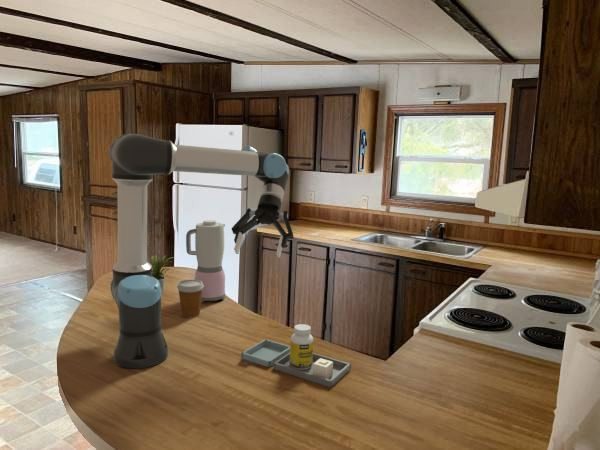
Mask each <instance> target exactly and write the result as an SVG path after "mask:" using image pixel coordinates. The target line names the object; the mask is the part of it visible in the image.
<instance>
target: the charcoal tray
mask: <svg viewBox="0 0 600 450" xmlns="http://www.w3.org/2000/svg"><path fill="white" fill-rule="evenodd" d="M320 358H322V359H325V360H329V361H332V362H333V375H332V376H331V377H330V378H329V379H326V378H323V377H320V376H316V375H313V363H315V362H316V361H317V360H319V359H320ZM351 369H352V368H351V363H350V362H345V361H342V360H339V359H336V358H332V357H329V356H325V355H322V354H318V353H315V352H313V357H312V366H311V367H310V368H308V369H305V370H298V369H295V368H293V367H291V365H290V352H289V353H288V354H286V355H285V356H283V357H282V358H280V359H279V360H278V361H276V362H275V363H274V365H273V370H275V371H279V372H282V373H285V374H288V375H291V376H295V377H298V378H300V379H304V380H306V381H310V382H312V383H315V384H319V385H322V386H324V387H328V388H332V387H333V386H334V385H335V384H336V383H338V381H340V379H342V378H343V377H344V376H345V375H346V374H347V373H349V372H350V371H351Z"/></svg>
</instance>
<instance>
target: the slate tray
mask: <svg viewBox="0 0 600 450" xmlns="http://www.w3.org/2000/svg"><path fill="white" fill-rule="evenodd" d="M289 352H290V345H288V344H284V343H281V342H277V341H273V340H270V339H268V338H265V339H263V340H261V341H260V342H258V343H256V344H254V345H252V346H251V347H248V348H247V349H245V350H244V351H242V352H241V355H240V356H241V359H240V360H241V362H244V363H247V364H251V365H254V364H257V365H260V366H264V367H265V368H266V367H267V368H271V367H272V366H274V363H275V362H276V361H278V360H279V359H280V358H282V357H283V356H285V355H286V354H288V353H289Z"/></svg>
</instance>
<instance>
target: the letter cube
mask: <svg viewBox="0 0 600 450" xmlns="http://www.w3.org/2000/svg"><path fill="white" fill-rule="evenodd" d="M313 375H316V376H320V377H323V378H326V379H329V378H330V377H331V376H332V375H333V362H332V361H329V360H325V359H322V358H320V359H319V360H317V361H316V362H315V363H313Z"/></svg>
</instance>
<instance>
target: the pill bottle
mask: <svg viewBox="0 0 600 450" xmlns="http://www.w3.org/2000/svg"><path fill="white" fill-rule="evenodd" d="M311 327H312V326H310V325H309V324H305V323H304V324H302V323H299V324H295V325H294V328H293V331H294V332H293V334H292V335H291V337H290V343H289V344H290V345H289V346H290V365H291V367H293V368H295V369H298V370H305V369H308V368H310V367H311V366H312V357H313V353H314V337H313V336H312V334H311V331H312V330H311V329H312V328H311Z"/></svg>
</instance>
